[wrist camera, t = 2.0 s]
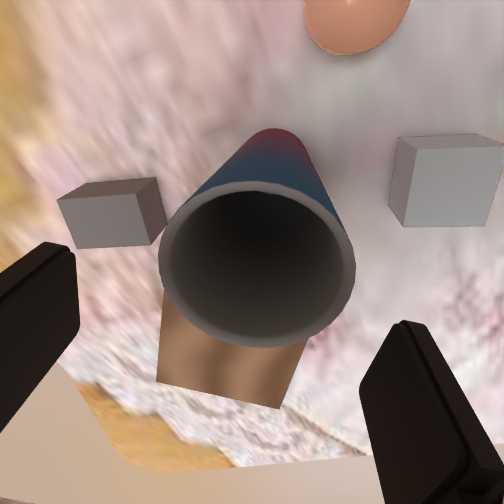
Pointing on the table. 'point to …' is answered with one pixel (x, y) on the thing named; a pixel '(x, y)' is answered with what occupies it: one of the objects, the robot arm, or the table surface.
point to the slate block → (445, 180)
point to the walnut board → (222, 363)
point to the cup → (259, 249)
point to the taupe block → (114, 213)
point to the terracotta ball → (352, 23)
